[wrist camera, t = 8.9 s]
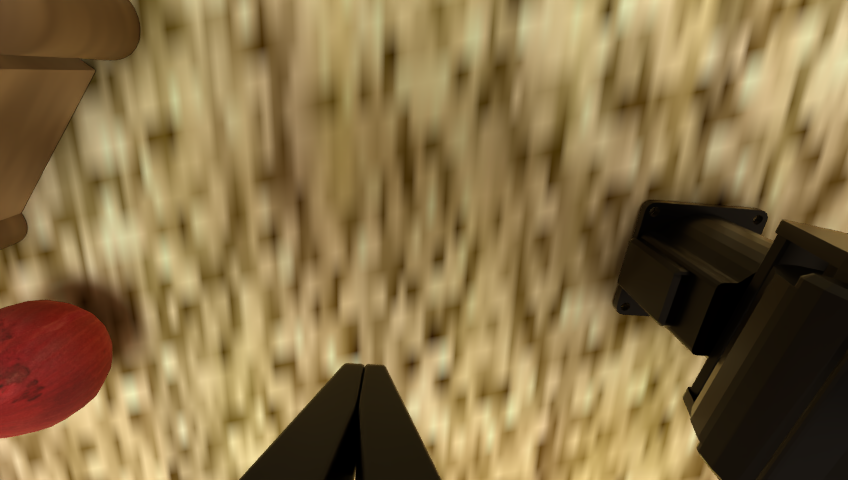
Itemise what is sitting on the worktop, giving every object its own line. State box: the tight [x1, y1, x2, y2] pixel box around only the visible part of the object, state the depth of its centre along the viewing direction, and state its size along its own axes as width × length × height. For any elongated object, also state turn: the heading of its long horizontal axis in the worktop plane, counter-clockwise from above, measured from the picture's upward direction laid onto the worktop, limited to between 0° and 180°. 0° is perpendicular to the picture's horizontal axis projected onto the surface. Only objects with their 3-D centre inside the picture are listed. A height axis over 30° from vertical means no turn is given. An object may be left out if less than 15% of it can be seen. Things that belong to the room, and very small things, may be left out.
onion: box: [0, 300, 112, 438], centre depth 19 cm, size 6×6×8 cm
